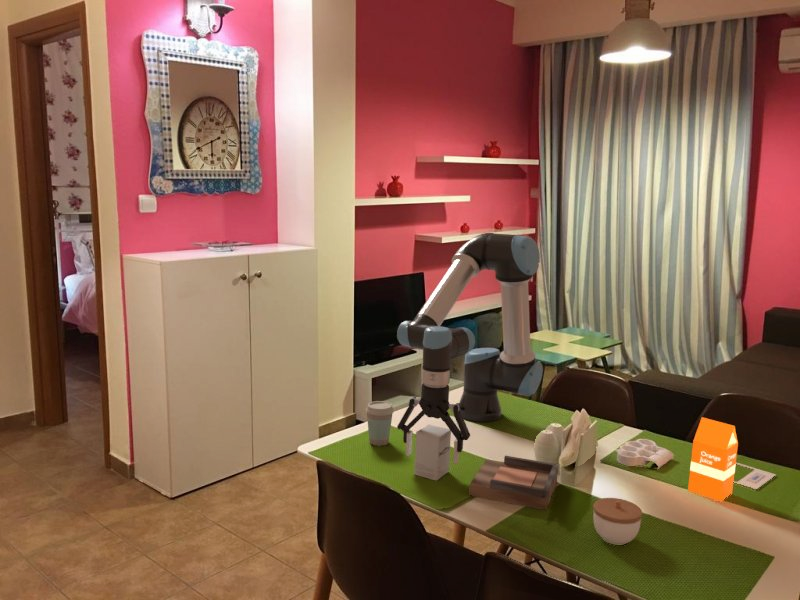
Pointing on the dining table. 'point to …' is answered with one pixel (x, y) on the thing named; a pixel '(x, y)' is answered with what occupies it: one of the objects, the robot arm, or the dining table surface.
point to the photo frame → (755, 477)
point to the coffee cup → (379, 422)
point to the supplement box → (432, 452)
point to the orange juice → (713, 459)
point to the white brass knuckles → (642, 453)
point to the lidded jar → (616, 520)
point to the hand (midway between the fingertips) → (432, 458)
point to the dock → (516, 481)
